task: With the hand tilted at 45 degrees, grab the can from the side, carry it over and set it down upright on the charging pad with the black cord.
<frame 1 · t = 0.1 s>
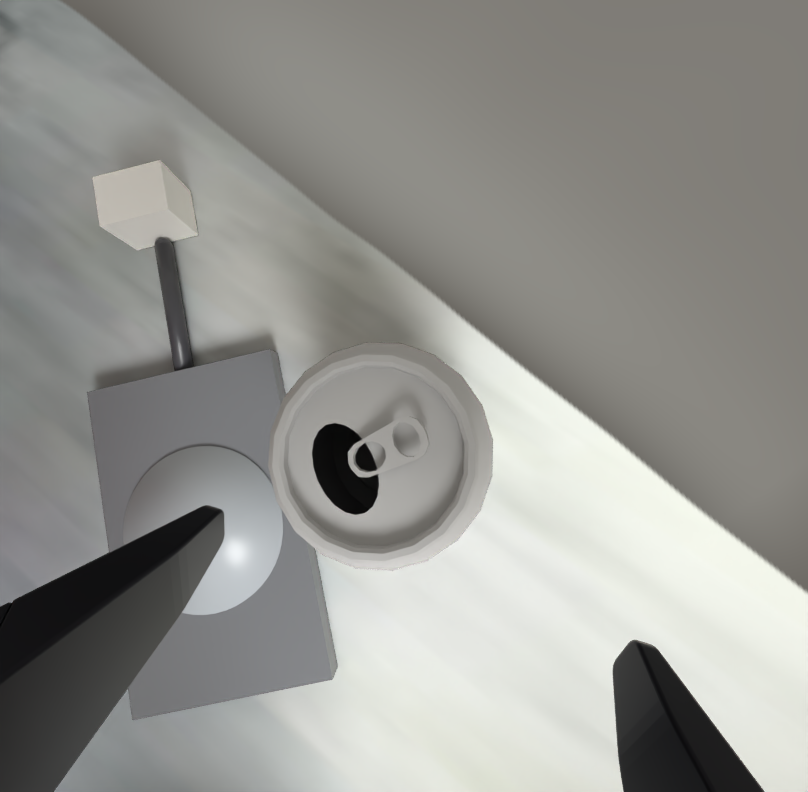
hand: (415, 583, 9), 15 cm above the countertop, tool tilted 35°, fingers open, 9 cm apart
charging pad: (214, 523, 24), on the countertop
can: (400, 446, 24), on the countertop
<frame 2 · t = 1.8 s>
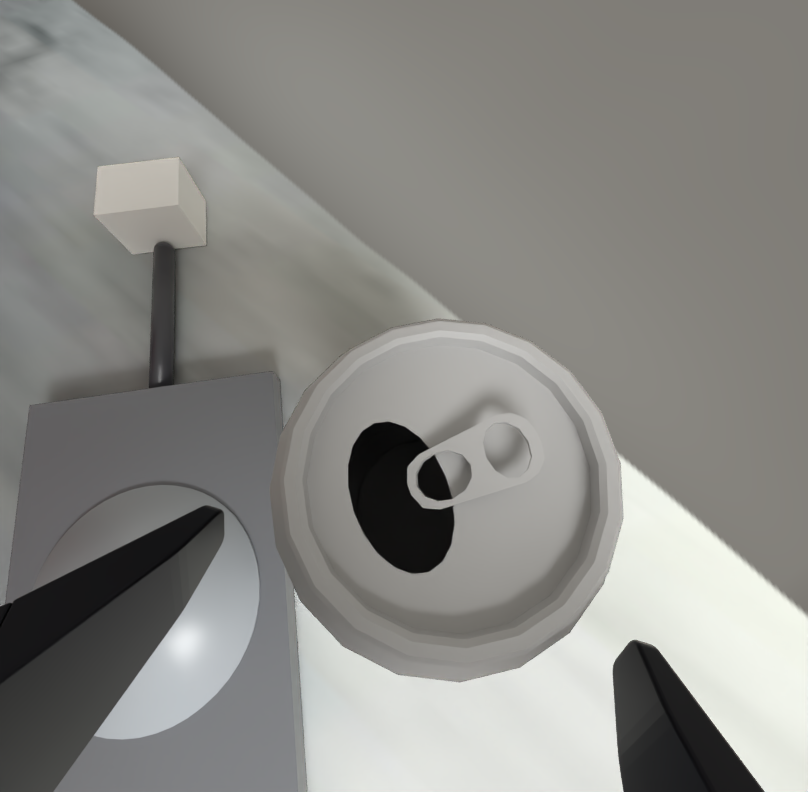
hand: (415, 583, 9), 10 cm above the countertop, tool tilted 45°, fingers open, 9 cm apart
charging pad: (162, 596, 18), on the countertop
can: (422, 505, 19), on the countertop
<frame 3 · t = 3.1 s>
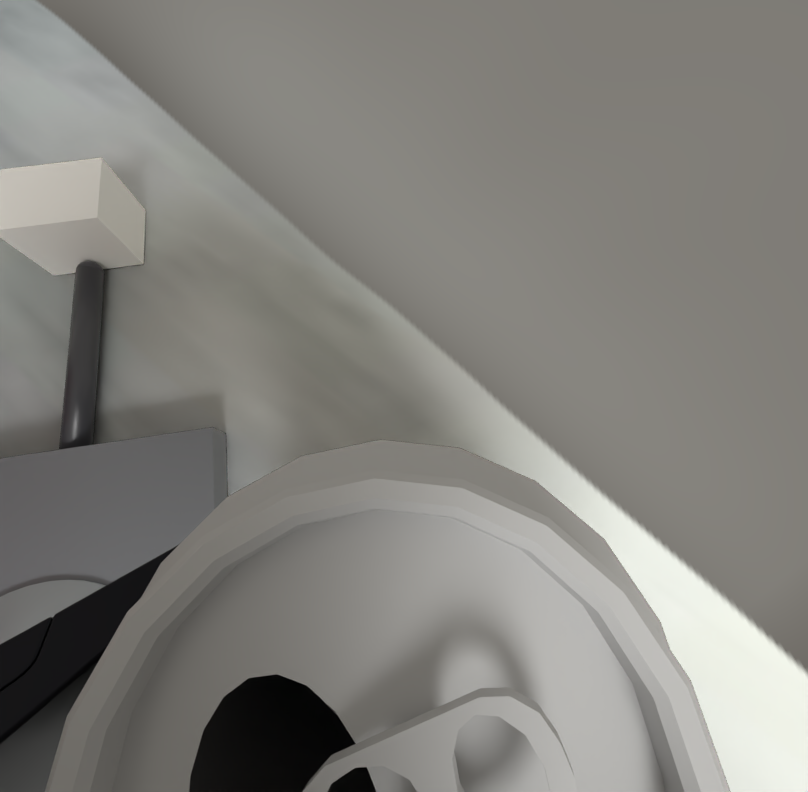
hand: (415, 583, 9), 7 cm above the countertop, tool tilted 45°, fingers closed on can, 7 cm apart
charging pad: (65, 722, 14), on the countertop
can: (400, 598, 15), on the countertop, touching gripper
when the fingers open (9 cm above the countertop, at t = 6.6 s): can stays where it is, resting on charging pad.
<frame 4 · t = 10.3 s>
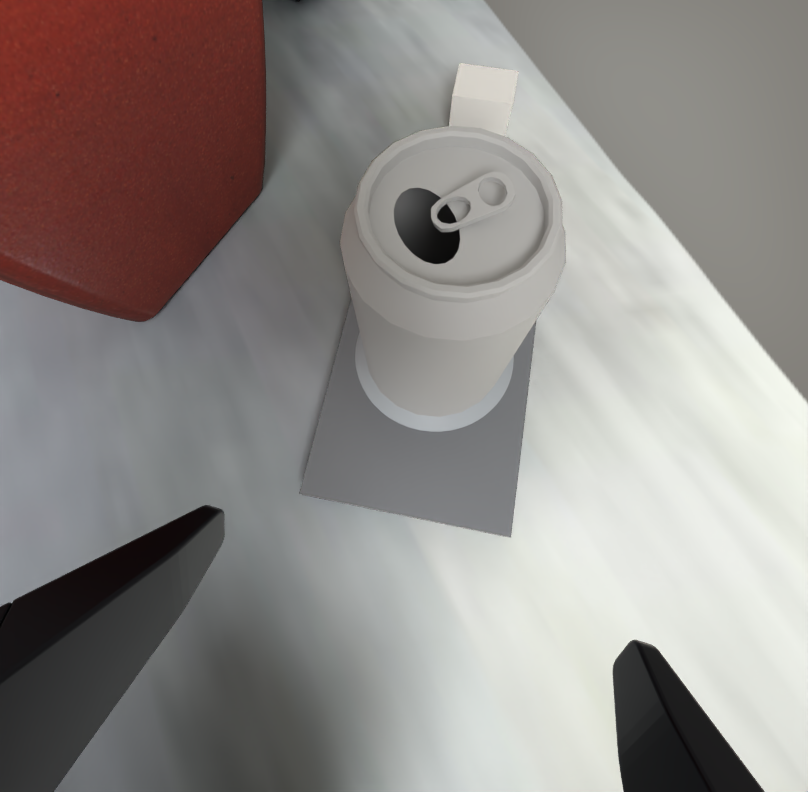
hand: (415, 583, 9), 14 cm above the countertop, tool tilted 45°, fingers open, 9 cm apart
charging pad: (432, 362, 25), on the countertop
plant pot: (141, 213, 29), on the countertop
can: (433, 358, 24), point 1 cm above the countertop, touching charging pad
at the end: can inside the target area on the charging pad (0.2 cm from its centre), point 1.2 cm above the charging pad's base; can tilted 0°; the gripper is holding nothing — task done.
